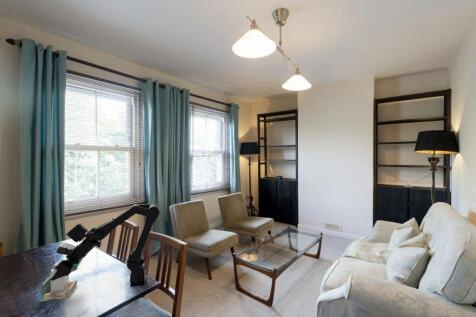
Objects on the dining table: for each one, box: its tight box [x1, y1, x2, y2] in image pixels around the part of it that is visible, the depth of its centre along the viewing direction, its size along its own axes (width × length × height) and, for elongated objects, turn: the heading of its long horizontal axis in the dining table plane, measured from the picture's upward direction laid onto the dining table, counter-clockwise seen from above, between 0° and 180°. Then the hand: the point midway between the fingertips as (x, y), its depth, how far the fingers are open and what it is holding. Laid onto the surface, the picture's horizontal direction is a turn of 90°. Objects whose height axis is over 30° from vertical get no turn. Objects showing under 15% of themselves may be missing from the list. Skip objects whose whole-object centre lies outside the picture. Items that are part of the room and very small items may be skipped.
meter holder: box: [40, 274, 78, 302], centre depth 106 cm, size 10×10×7 cm
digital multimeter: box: [65, 258, 82, 271], centre depth 132 cm, size 7×15×3 cm, turn 23°
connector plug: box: [50, 261, 70, 293], centre depth 106 cm, size 5×5×13 cm
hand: (56, 274), depth 106 cm, fingers open, 9 cm apart
